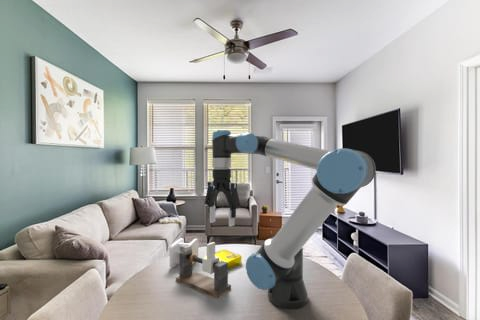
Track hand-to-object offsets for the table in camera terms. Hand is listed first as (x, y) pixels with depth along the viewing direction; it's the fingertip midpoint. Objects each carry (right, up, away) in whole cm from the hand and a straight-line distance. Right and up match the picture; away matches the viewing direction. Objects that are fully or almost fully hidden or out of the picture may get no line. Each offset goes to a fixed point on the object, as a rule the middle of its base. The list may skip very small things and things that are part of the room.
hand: (221, 224), depth 98 cm
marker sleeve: (-5, -20, +3) cm, 21 cm away
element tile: (-2, -29, +28) cm, 40 cm away
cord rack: (-9, -28, +6) cm, 30 cm away
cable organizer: (-22, -28, +28) cm, 45 cm away
